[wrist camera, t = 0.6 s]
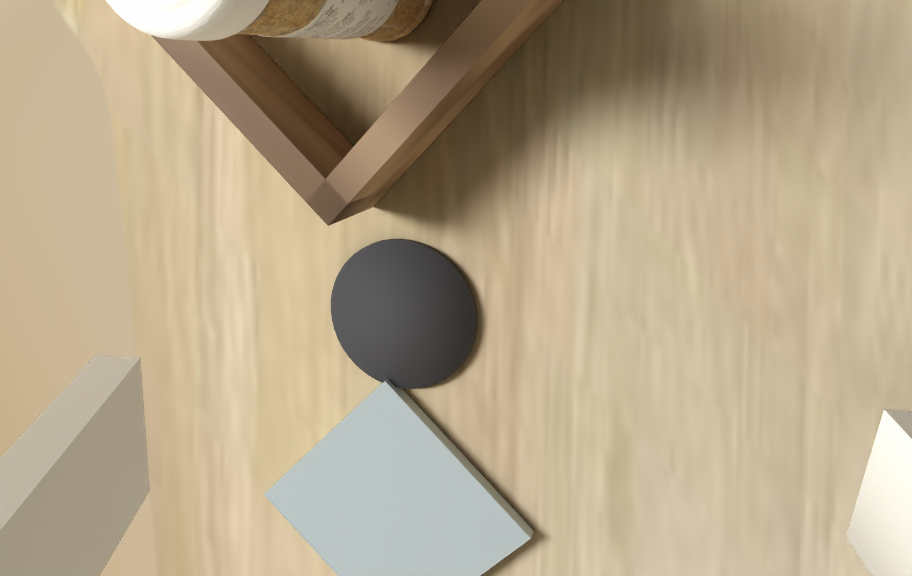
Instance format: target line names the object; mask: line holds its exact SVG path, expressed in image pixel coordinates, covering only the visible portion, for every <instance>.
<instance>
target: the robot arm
mask: <svg viewBox="0 0 912 576" xmlns="http://www.w3.org/2000/svg"><path fill="white" fill-rule="evenodd" d="M149 491H150V486H149V472H148V458H147V444H146V430H145V417H144V403H143V389H142V375H141V361H140V358H137V357H121V356H108V355H95V356H94V358H93V359H92V360H91V361H90V362H89V363H88V364H87V365H86V366H85V367H84V368H83V369H82V370H81V372H80V373H79V374H78V375H77V376H76V377H75V378H74V379H73V380H72V381H71V382H70V383H69V384H68V385H67V387H66V388H65V389H64V390H63V391H62V392H61V393H60V394H59V395H58V396H57V397H56V398H55V400H54V401H53V402H52V403H51V404H50V405H49V406H48V407H47V408H46V409H45V410H44V411H43V412H42V414H41V415H40V416H39V417H38V418H37V419H36V420H35V421H34V422H33V423H32V424H31V425H30V426H29V427H28V429H27V430H26V431H25V432H24V433H23V434H22V435H21V436H20V437H19V438H18V439H17V440H16V441H15V443H14V444H13V445H12V446H11V447H10V448H9V449H8V450H7V451H6V452H5V453H4V454H3V456H2V457H1V458H0V576H100V574H101V572H102V571H103V569H104V567H105V565H106V564H107V562H108V560H109V559H110V557H111V555H112V554H113V552H114V550H115V549H116V547H117V545H118V544H119V542H120V540H121V538H122V537H123V535H124V533H125V532H126V530H127V528H128V527H129V525H130V523H131V522H132V520H133V518H134V516H135V515H136V513H137V511H138V510H139V508H140V506H141V505H142V503H143V501H144V500H145V498H146V496H147V494H148V493H149ZM846 537H847V539H848V540H849V542H850V543H851V545H852V546H853V548H854V549H855V551H856V552H857V554H858V555H859V557H860V558H861V560H862V562H863V563H864V565H865V566H866V568H867V569H868V571H869V572H870V574H871V575H872V576H912V411H900V410H886V409H884V411H883V415H882V418H881V421H880V425H879V428H878V431H877V435H876V438H875V442H874V445H873V448H872V452H871V455H870V458H869V462H868V465H867V468H866V472H865V475H864V479H863V482H862V485H861V489H860V492H859V495H858V499H857V502H856V505H855V509H854V512H853V515H852V519H851V522H850V526H849V529H848V532H847V536H846Z"/></svg>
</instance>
